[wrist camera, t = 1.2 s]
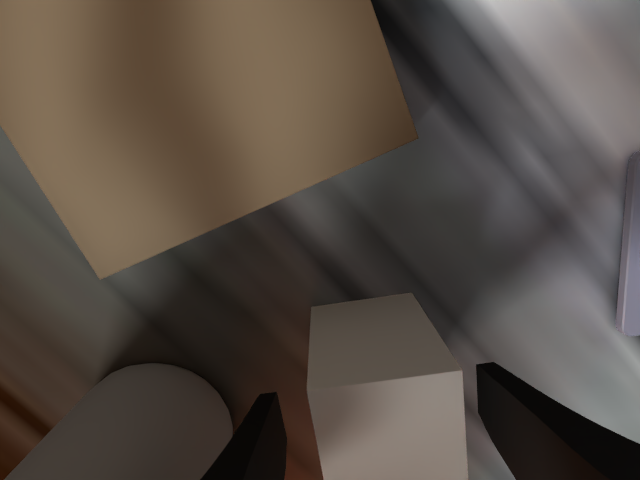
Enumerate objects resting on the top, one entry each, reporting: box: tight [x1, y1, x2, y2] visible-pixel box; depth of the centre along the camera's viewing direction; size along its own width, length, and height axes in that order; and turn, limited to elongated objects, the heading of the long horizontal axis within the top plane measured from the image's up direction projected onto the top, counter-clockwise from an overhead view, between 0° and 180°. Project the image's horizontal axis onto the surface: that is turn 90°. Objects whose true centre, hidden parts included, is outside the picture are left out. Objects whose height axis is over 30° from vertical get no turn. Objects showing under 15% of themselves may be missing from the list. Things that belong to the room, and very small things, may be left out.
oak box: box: [0, 0, 418, 279], centre depth 11 cm, size 12×12×3 cm
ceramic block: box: [307, 293, 468, 480], centre depth 13 cm, size 4×4×6 cm
